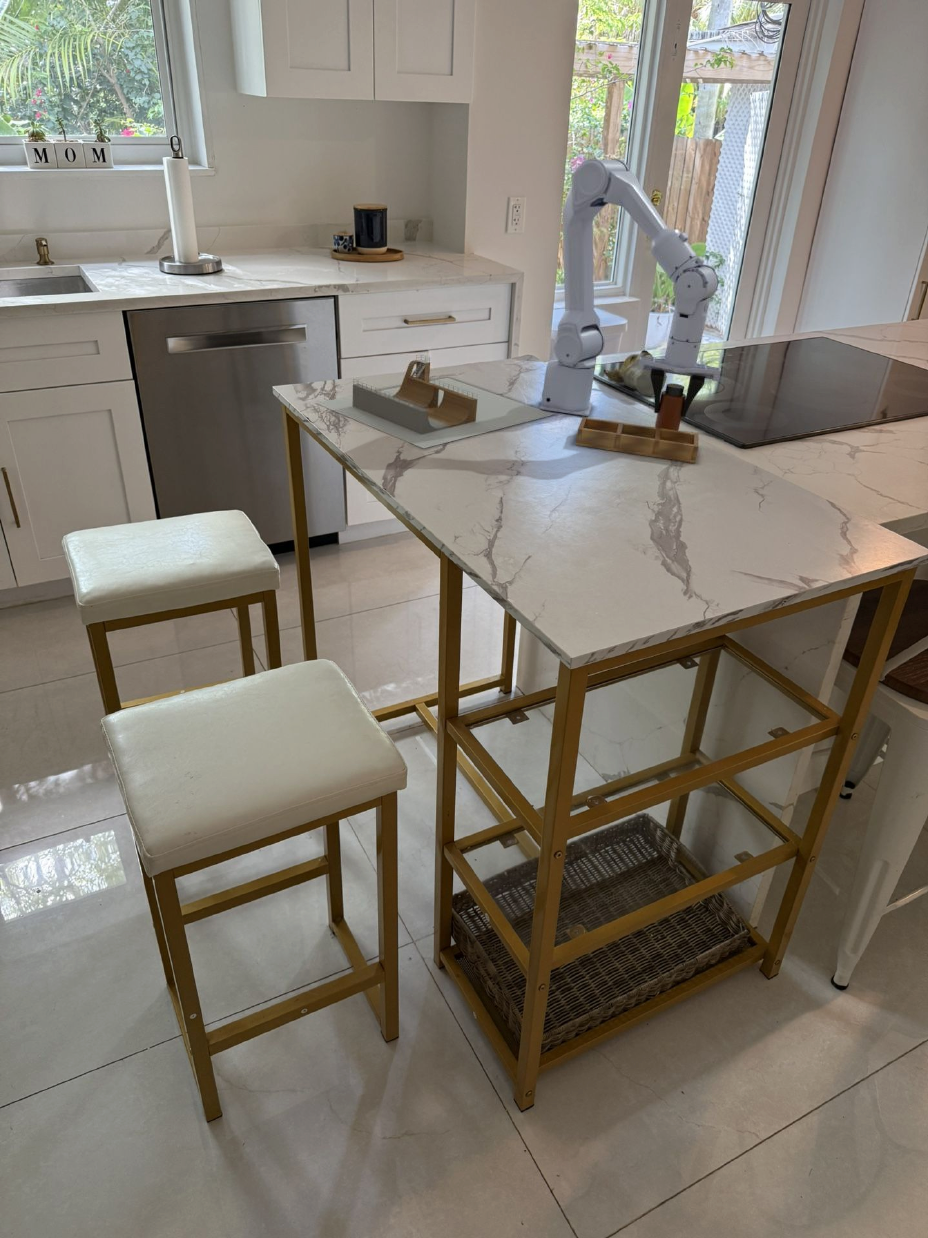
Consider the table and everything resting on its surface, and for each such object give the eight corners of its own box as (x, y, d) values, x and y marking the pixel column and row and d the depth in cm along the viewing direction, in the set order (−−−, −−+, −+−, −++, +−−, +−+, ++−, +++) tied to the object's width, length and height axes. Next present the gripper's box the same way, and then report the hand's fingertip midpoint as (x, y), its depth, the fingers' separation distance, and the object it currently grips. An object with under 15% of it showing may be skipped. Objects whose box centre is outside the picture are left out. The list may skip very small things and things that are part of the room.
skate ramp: (315, 402, 164) (315, 362, 161) (447, 377, 187) (450, 341, 183) (423, 448, 148) (426, 404, 144) (554, 414, 170) (559, 375, 167)
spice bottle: (654, 429, 163) (663, 387, 159) (655, 423, 167) (663, 380, 163) (678, 433, 162) (687, 390, 158) (678, 426, 166) (687, 384, 162)
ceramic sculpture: (640, 356, 180) (604, 343, 192) (634, 399, 184) (598, 383, 196) (684, 356, 183) (645, 343, 196) (677, 398, 187) (639, 382, 200)
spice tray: (575, 444, 156) (577, 428, 154) (580, 432, 162) (582, 416, 161) (695, 463, 153) (698, 446, 151) (694, 449, 159) (698, 433, 157)
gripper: (643, 337, 154) (629, 413, 161) (727, 349, 152) (709, 425, 159) (644, 329, 160) (631, 403, 167) (726, 340, 158) (708, 414, 165)
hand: (669, 413), depth 163 cm, fingers closed on spice bottle, 4 cm apart
